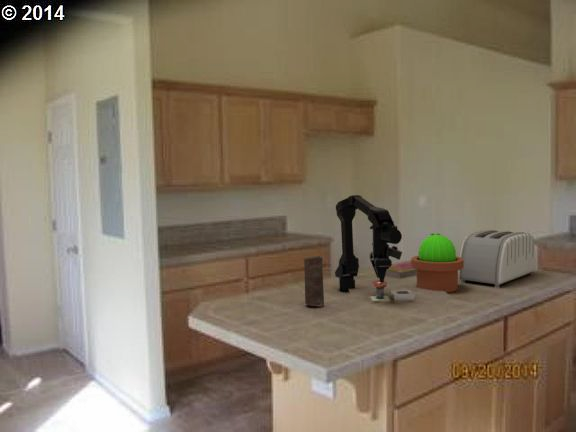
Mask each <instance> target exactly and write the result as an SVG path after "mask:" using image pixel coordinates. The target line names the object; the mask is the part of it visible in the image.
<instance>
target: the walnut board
mask: <svg viewBox="0 0 576 432" xmlns="http://www.w3.org/2000/svg"><path fill="white" fill-rule="evenodd" d="M366 296H367V298H368V301H369V302H370V304H412V303H418V301H417V300H416V299H415V301H394V300H393V299H392V297H391V294H384V296H388V298H389V299H390V301H372V299H371V298H370V296H376V294H372V295H371V294H370V295H368V294H367V295H366Z"/></svg>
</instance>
